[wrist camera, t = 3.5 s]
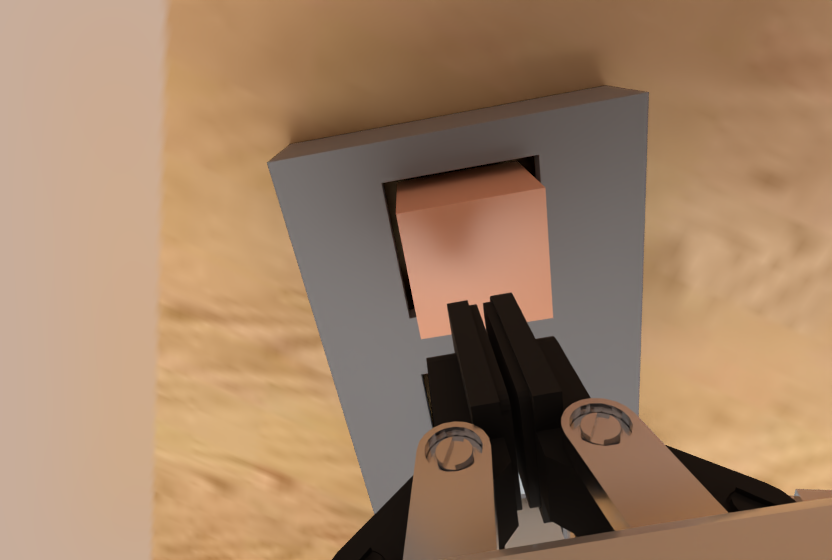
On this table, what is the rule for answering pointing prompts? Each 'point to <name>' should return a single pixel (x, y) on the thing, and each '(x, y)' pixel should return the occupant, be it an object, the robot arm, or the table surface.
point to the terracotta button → (475, 242)
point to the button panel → (381, 273)
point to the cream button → (533, 528)
